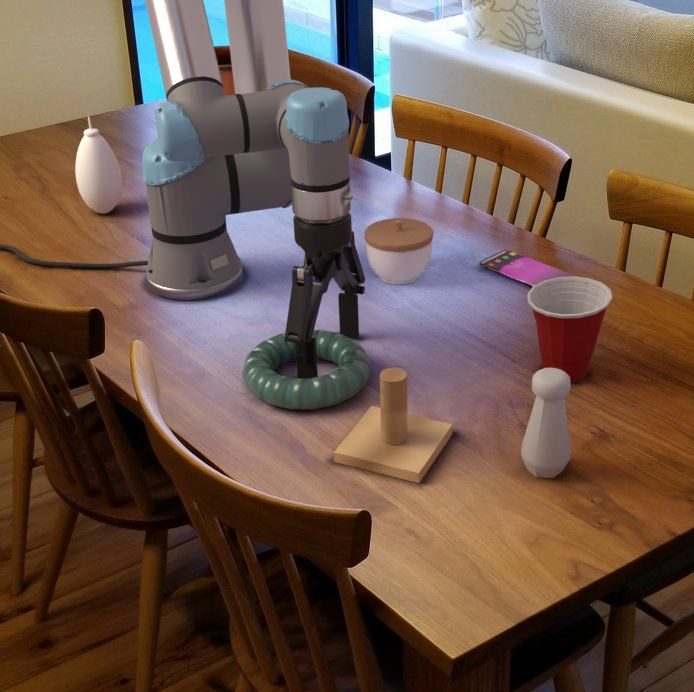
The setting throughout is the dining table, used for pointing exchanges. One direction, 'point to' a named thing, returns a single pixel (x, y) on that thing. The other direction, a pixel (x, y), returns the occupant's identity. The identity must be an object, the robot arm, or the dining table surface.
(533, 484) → the dining table surface
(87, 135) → the white air blower bulb
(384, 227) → the trinket box
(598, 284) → the plastic cup
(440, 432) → the peg stand
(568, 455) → the salt shaker
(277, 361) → the ring
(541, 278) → the smartphone
